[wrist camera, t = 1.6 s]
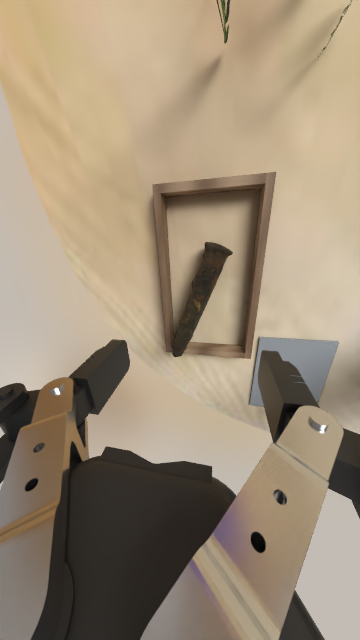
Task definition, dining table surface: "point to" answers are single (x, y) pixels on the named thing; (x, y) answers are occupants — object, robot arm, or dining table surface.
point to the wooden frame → (267, 189)
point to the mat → (298, 362)
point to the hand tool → (200, 294)
